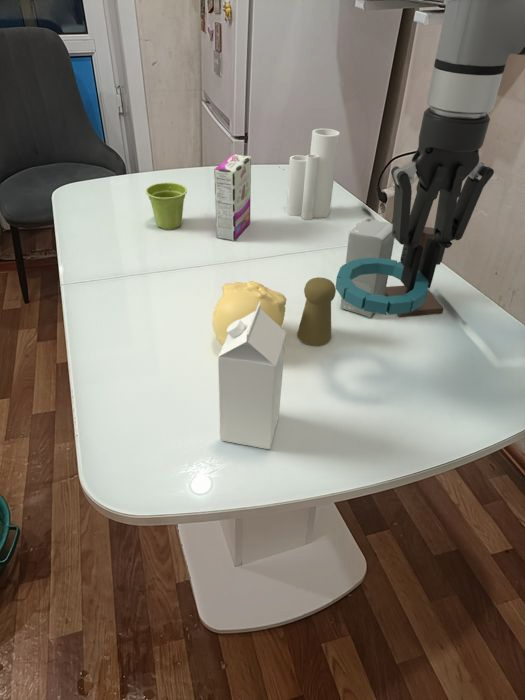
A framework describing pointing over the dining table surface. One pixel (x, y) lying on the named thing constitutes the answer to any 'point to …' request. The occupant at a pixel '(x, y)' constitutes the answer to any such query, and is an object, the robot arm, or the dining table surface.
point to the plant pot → (167, 204)
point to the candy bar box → (232, 196)
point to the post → (430, 303)
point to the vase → (313, 177)
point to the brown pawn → (317, 312)
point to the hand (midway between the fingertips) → (415, 284)
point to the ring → (379, 302)
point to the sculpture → (245, 305)
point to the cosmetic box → (369, 256)
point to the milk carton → (251, 380)
